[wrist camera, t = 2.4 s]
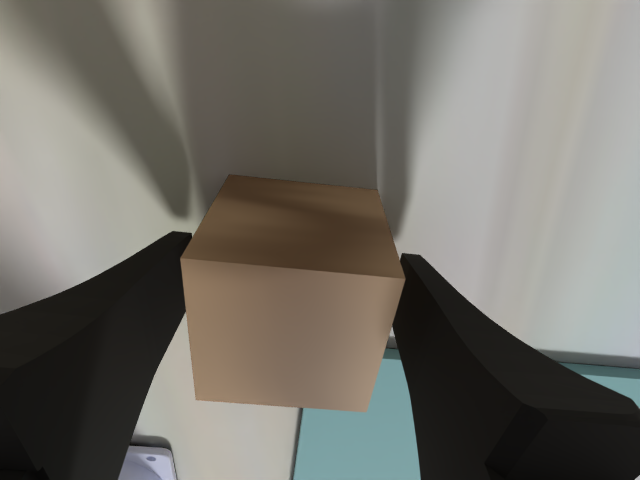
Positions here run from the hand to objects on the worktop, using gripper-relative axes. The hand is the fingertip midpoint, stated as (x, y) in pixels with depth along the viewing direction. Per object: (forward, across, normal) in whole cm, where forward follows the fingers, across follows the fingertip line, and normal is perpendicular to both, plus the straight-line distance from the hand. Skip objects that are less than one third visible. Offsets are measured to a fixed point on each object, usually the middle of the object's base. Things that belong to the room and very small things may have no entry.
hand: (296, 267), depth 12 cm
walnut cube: (+2, 0, 0) cm, 2 cm away
